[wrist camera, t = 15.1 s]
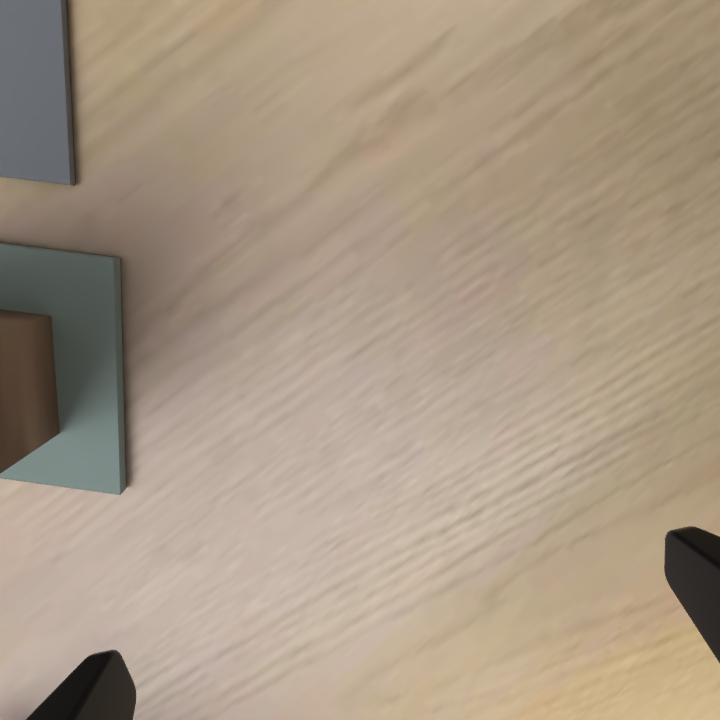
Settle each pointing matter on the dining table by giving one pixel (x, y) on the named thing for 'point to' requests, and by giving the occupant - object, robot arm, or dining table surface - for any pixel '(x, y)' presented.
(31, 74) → the metal tile
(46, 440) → the walnut block
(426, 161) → the dining table surface
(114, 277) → the rubber pad
